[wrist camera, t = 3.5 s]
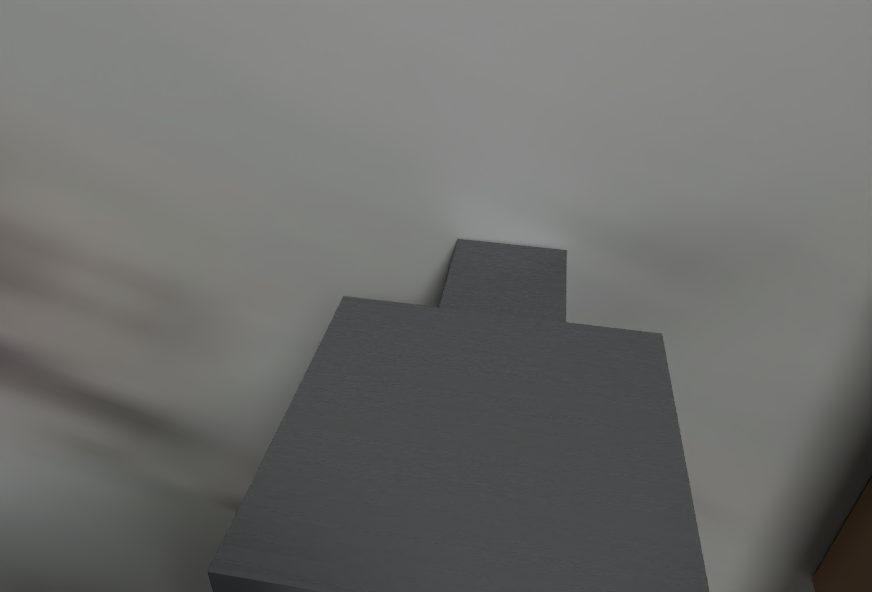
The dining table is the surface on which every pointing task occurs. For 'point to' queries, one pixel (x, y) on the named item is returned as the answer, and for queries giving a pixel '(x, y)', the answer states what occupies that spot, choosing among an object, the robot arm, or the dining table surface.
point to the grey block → (473, 451)
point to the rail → (850, 552)
